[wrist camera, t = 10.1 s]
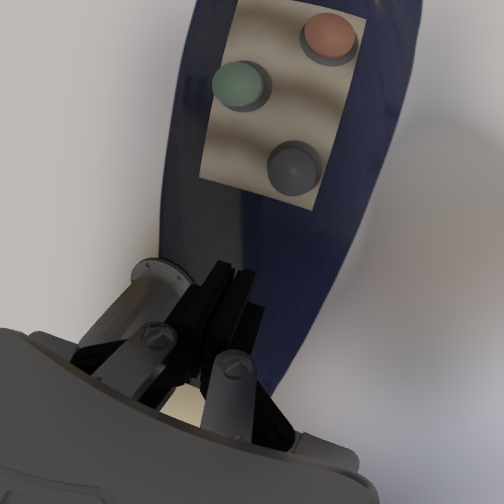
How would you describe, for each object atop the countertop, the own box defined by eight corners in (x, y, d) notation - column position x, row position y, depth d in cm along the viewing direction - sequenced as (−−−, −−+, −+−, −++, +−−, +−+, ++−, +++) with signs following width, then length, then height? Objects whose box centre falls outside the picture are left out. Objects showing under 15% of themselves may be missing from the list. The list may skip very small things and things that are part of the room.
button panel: (312, 203, 31) (311, 212, 28) (207, 172, 32) (196, 178, 29) (363, 26, 19) (367, 17, 17) (246, 2, 21) (238, -8, 18)
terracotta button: (347, 64, 20) (349, 60, 18) (301, 51, 20) (299, 46, 18) (356, 27, 17) (359, 21, 16) (311, 15, 18) (309, 7, 16)
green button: (258, 110, 24) (252, 110, 22) (216, 102, 24) (207, 102, 23) (268, 69, 22) (263, 66, 20) (225, 62, 22) (217, 59, 20)
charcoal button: (308, 195, 27) (307, 202, 25) (267, 182, 27) (262, 188, 26) (321, 155, 25) (321, 158, 23) (278, 141, 25) (274, 144, 23)
